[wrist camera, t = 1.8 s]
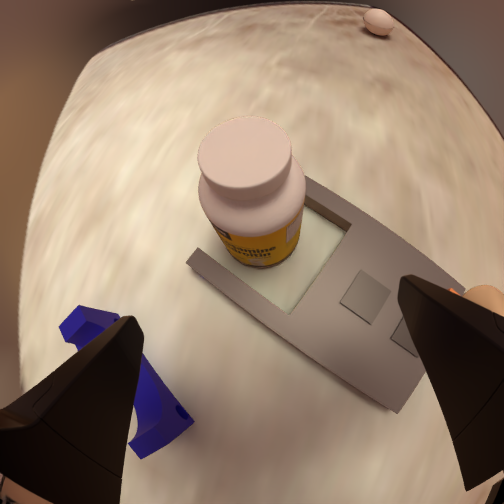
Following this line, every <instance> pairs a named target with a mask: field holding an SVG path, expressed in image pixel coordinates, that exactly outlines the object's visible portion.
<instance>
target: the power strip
mask: <svg viewBox="0 0 504 504" xmlns="http://www.w3.org/2000/svg"><path fill="white" fill-rule="evenodd" d="M304 176H305V175H304ZM305 182H306V192H305V200H304V204H305V205H306V206H308V207H309V208H311V209H313V210H314V211H316V212H317V213H319V214H320V215H322V216H324V217H325V218H327V219H328V220H330V221H331V222H333V223H334V224H336V225H337V226H339V227H340V228H342V229H343V230H345V231H346V232H347V233H346V234H345V236H344V238H343V239H342V241H341V242H340V244H339V245H338V247H337V248H336V250H335V251H334V253H333V254H332V256H331V257H330V259H329V260H328V262H327V263H326V265H325V266H324V268H323V269H322V271H321V272H320V273H319V275H318V276H317V278H316V279H315V281H314V282H313V283H312V285H311V286H310V288H309V289H308V291H307V292H306V293H305V295H304V296H303V298H302V299H301V300H300V302H299V303H298V304H297V306H296V307H295V309H294V310H293V311H292V313H291V314H290V315H288V314H287V313H285V312H284V311H283V310H281V309H280V308H278V307H277V306H276V305H274V304H273V303H272V302H270V301H269V300H267V299H266V298H265V297H263V296H262V295H261V294H259V293H258V292H257V291H255V290H254V289H253V288H251V287H250V286H248V285H247V284H246V283H244V282H243V281H242V280H240V279H239V278H238V277H236V276H235V275H234V274H232V273H231V272H230V271H228V270H227V269H226V268H224V267H223V266H222V265H220V264H219V263H218V262H216V261H215V260H214V259H212V258H211V257H210V256H209V255H207V254H206V253H205V252H203V251H202V250H201V249H199V248H197V249H196V250H195V251H194V253H193V254H192V255H191V256H190V258H189V259H188V260H187V261H186V264H188V265H189V266H190V267H191V268H193V269H194V270H195V271H196V272H197V273H199V274H200V275H201V276H202V277H204V278H205V279H206V280H207V281H209V282H210V283H211V284H212V285H214V286H215V287H216V288H218V289H219V290H220V291H221V292H223V293H224V294H225V295H226V296H228V297H229V298H230V299H232V300H233V301H234V302H236V303H237V304H238V305H239V306H241V307H242V308H243V309H245V310H246V311H247V312H249V313H250V314H251V315H253V316H254V317H255V318H257V319H258V320H259V321H261V322H262V323H263V324H265V325H266V326H267V327H269V328H270V329H271V330H273V331H274V332H276V333H277V334H278V335H280V336H281V337H282V338H284V339H285V340H287V341H288V342H289V343H291V344H292V345H294V346H295V347H296V348H298V349H299V350H301V351H302V352H303V353H305V354H306V355H308V356H309V357H311V358H312V359H313V360H315V361H316V362H318V363H319V364H321V365H322V366H324V367H325V368H327V369H328V370H330V371H331V372H332V373H334V374H335V375H337V376H338V377H340V378H341V379H343V380H344V381H346V382H347V383H349V384H350V385H352V386H354V387H355V388H357V389H358V390H360V391H361V392H363V393H364V394H366V395H367V396H369V397H371V398H372V399H374V400H375V401H377V402H378V403H380V404H382V405H383V406H385V407H387V408H388V409H390V410H391V411H393V412H395V413H396V414H398V413H399V411H400V410H401V409H402V407H403V406H404V404H405V403H406V401H407V400H408V398H409V397H410V395H411V394H412V392H413V391H414V389H415V388H416V386H417V385H418V383H419V381H420V380H421V378H422V377H423V375H424V373H425V372H426V370H425V368H424V365H423V363H422V361H421V359H420V356H419V354H418V352H417V350H416V348H415V346H414V344H413V341H412V339H411V336H410V334H409V331H408V328H407V325H406V323H405V320H404V317H403V314H402V312H401V309H400V307H399V304H398V300H397V295H398V289H399V282H400V278H401V277H402V276H404V275H409V274H413V275H415V276H418V277H420V278H422V279H424V280H427V281H429V282H431V283H433V284H436V285H438V286H440V287H442V288H445V289H447V290H449V291H451V292H453V293H455V294H458V295H460V296H463V294H464V291H465V288H464V287H463V286H462V285H461V284H460V283H458V282H457V281H456V280H455V279H454V278H453V277H451V276H450V275H449V274H448V273H446V272H445V271H444V270H443V269H442V268H440V267H439V266H438V265H437V264H435V263H434V262H433V261H432V260H430V259H429V258H428V257H426V256H425V255H424V254H423V253H421V252H420V251H419V250H417V249H416V248H415V247H413V246H412V245H411V244H409V243H408V242H407V241H405V240H404V239H402V238H401V237H400V236H398V235H397V234H396V233H394V232H393V231H391V230H390V229H388V228H387V227H386V226H384V225H383V224H381V223H380V222H378V221H377V220H375V219H374V218H372V217H371V216H370V215H368V214H367V213H365V212H364V211H362V210H360V209H359V208H357V207H356V206H354V205H353V204H351V203H350V202H348V201H347V200H345V199H343V198H342V197H340V196H339V195H337V194H335V193H334V192H332V191H330V190H329V189H327V188H325V187H324V186H322V185H320V184H319V183H317V182H315V181H314V180H312V179H310V178H309V177H307V176H305Z"/></svg>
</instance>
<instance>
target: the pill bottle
mask: <svg viewBox="0 0 504 504" xmlns="http://www.w3.org/2000/svg"><path fill="white" fill-rule="evenodd" d="M198 164H199V167H200V170H201V172H202V173H201V176H200V180H199V187H198V193H199V200H200V203H201V206H202V208H203V210H204V212H205V214H206V216H207V218H208V219H209V221H210V222H211V224H212V225H213V227H214V229H215V230H216V232H217V233H218V235H219V237H220V238H221V240H222V241H223V243H224V245H225V246H226V248H227V249H228V251H229V252H230V254H231V255H232V256H233V257H234V258H235V259H237V260H238V261H239V262H241V263H243V264H245V265H247V266H251V267H257V268H265V267H270V266H274V265H276V264H279V263H281V262H282V261H284V260H285V259H286V258H287V257H288V256H289V255H290V254H291V253H292V252H293V250H294V249H295V247H296V245H297V243H298V240H299V236H300V228H301V222H302V215H303V208H304V200H305V192H306V182H305V176H304V173H303V170H302V168H301V166H300V164H299V163H298V161H297V160H296V159H295V157H294V156H293V155H292V149H291V142H290V139H289V137H288V135H287V133H286V132H285V131H284V130H283V129H282V128H281V127H280V126H279V125H278V124H276V123H274V122H273V121H271V120H268V119H265V118H262V117H255V116H243V117H237V118H233V119H230V120H227V121H225V122H223V123H221V124H219V125H217V126H216V127H214V128H213V129H212V130H211V131H210V132H209V133H208V134H207V135H206V136H205V137H204V139H203V140H202V142H201V144H200V146H199V150H198Z"/></svg>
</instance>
